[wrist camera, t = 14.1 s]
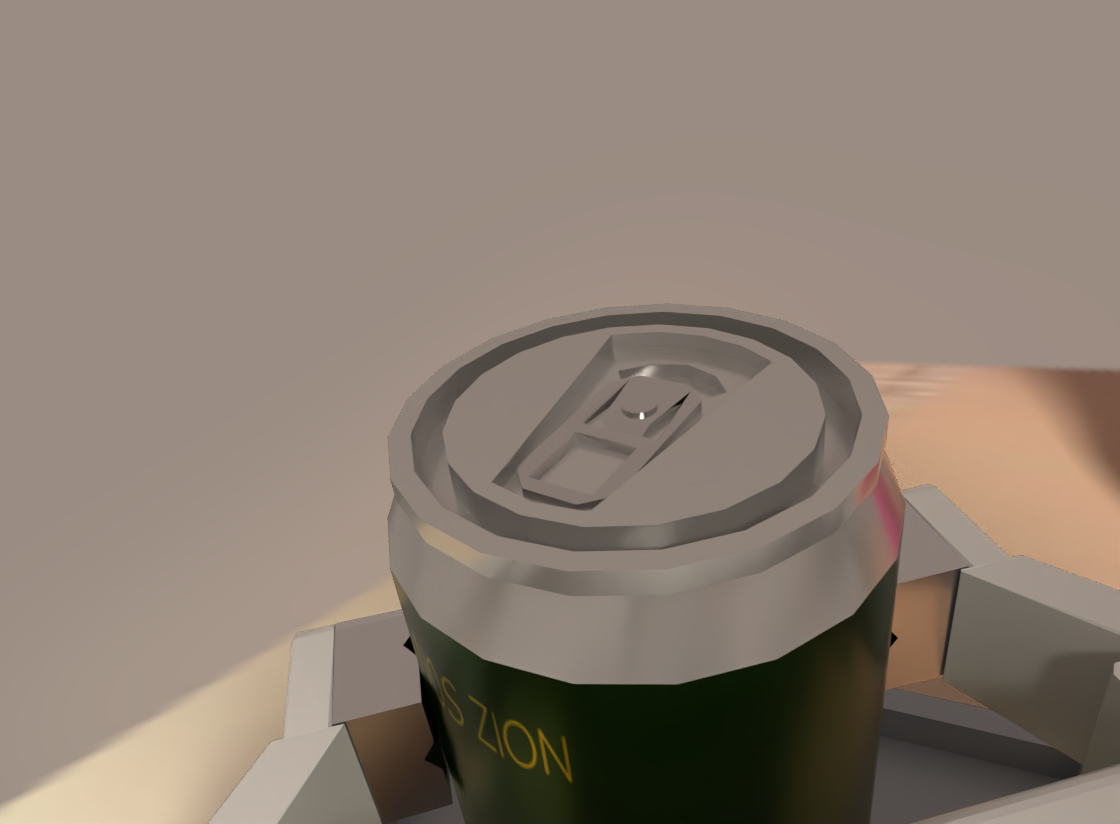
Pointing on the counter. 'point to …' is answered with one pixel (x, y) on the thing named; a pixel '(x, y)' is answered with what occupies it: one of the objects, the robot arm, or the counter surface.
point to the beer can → (651, 569)
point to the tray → (927, 761)
